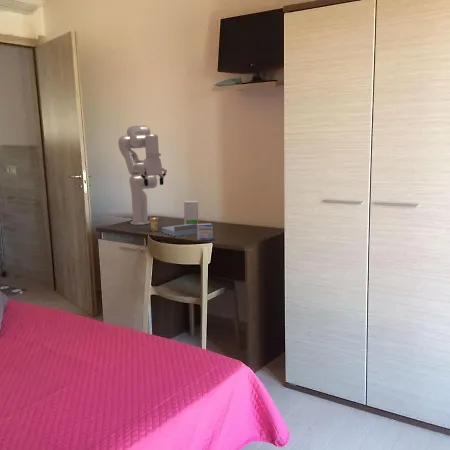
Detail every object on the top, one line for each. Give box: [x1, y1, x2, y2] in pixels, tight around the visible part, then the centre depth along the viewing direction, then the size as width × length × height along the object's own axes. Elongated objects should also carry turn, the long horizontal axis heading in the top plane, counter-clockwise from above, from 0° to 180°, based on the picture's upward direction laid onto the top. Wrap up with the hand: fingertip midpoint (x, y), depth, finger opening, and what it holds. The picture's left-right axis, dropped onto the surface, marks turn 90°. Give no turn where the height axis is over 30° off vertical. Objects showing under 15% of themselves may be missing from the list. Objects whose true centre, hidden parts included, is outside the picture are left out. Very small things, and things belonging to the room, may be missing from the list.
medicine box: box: [196, 222, 214, 242], centre depth 280 cm, size 8×4×9 cm, turn 104°
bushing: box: [148, 216, 159, 233], centre depth 306 cm, size 5×5×8 cm
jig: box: [161, 222, 204, 237], centre depth 301 cm, size 16×20×5 cm
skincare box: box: [183, 200, 199, 225], centre depth 321 cm, size 8×7×16 cm
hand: (154, 185), depth 304 cm, fingers open, 9 cm apart
